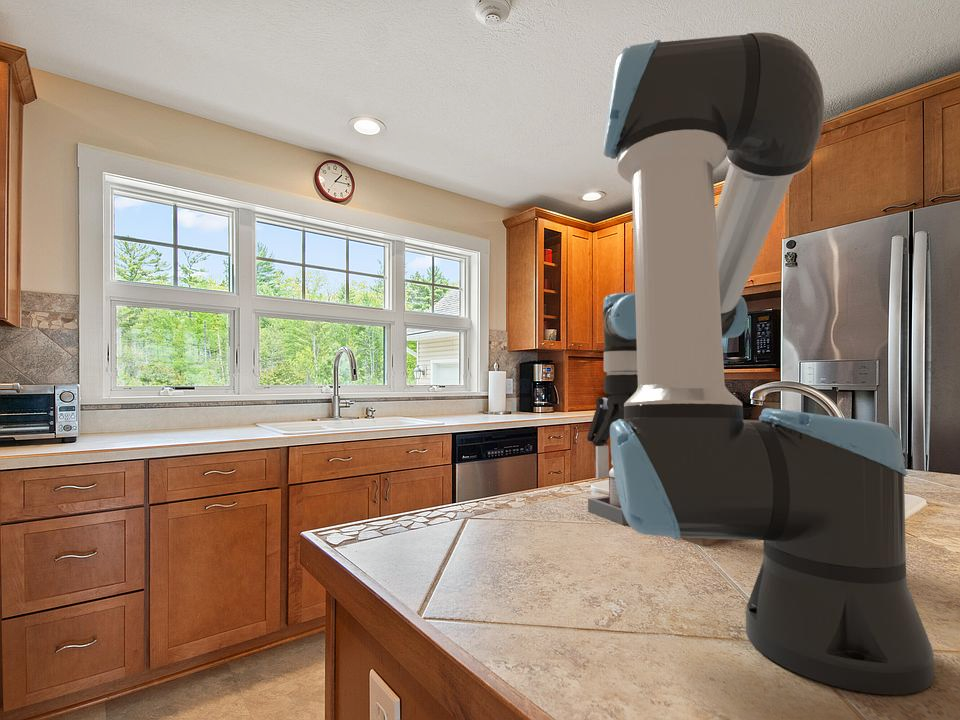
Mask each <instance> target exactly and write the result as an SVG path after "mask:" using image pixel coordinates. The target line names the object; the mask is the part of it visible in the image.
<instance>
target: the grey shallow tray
mask: <svg viewBox="0 0 960 720" xmlns="http://www.w3.org/2000/svg"><path fill="white" fill-rule="evenodd" d="M587 512H589V513H591V514H594V515H597V516H600V517H602V518H605V519H607V520H610V521H612V522H614V523H618V524H620V525H629V524H628V523H627V521H626V519H625V517H624V514H623V511H622V508H619V507H616V506H613V505H611V504H609V495H606V496H599V497H590V498H587Z"/></svg>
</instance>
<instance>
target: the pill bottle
mask: <svg viewBox="0 0 960 720" xmlns="http://www.w3.org/2000/svg"><path fill="white" fill-rule="evenodd" d="M611 466H613V464H612V463H611ZM608 494H609V495H608V496H609V504H611V505H613V506H616V507H619V508H621V504H620V500H619V496H618V492H617V487H616V482H615V476H614V470H613V467H611V469H610V470H609V478H608Z"/></svg>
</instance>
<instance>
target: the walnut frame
mask: <svg viewBox="0 0 960 720" xmlns="http://www.w3.org/2000/svg"><path fill="white" fill-rule="evenodd" d="M680 539H682V540H685V541H688V542H690V543H693V544H696V545H698V546H701V547H703V546H709V545H713V544H718V543H723V542H729V541H735V539H712V538H687V537H680Z"/></svg>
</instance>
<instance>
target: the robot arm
mask: <svg viewBox="0 0 960 720" xmlns="http://www.w3.org/2000/svg"><path fill="white" fill-rule="evenodd" d="M606 116H607V117H606V124H605V133H604V142H603V155H604V156H605V157H606V158H610V159H611V160H615V159H617V172H618V174H619V176H620V177H621V178H622V179H623V180H625V181H626V182H628V183H629V184H631V201H632V205H631V206H632V228H633V229H632V233H633V234H632V235H633V240H632V241H633V265H634V266H633V268H634V270H633V271H634V272H633V273H634V292H617V293H612V294H608V295H606V296H605V297H604V299H603V307H602V308H603V310H602V317H603V318H602V319H603V372H604V373H606V375H604V377H603V392H604V393H605V394H606V395H607V397H597V398H596V404H595V405H596V407H595V411H594V413H593V417H592V421H591V424H590V428H589V431H588V433H587V436H586V437H587V438H586V439H587V441H588V442H591V443H592V445H593V446H594V461H595V479H607V478H608V479H609V471H610V470H609V469H610V463H609V462H610V460H609V443H608V440H609V441H610V455H611V465H612V464H613V465H612V468H613V470H614V476H615V482H616V487H617V492H618V496H619V500H620V504H621V508H622V511H623V514H624V517H625V519H626V521H627V523H628V524H627V525H628V526H629V527H630V528H631V529H632V530H633V531H635V532H636V533H638V534H642V535H647V536H658V537H668V538H669V537H670V538H672V539H674V540H680V539H681V538H680V537H687V538H712V539H734V540H739V541H743V540H744V541H763V559H762V563H761V565H760V569H759V571H758V574H757V577H756V579H755V581H754V584H753V588H752V590H751V594H750V596H749V599H748V602H747V604H746V608H745V609H746V610H745V632H746V635H747V638H748V640H749V641H750V643H751V644H752V645H753V646H754V647H755V648H756V649H757V650H758V651H759V652H760V653H761V654H763V655H764V656H766V657H767V658H769V659H770V660H771V661H773V662H775V663H776V664H778V665H780V666H782V667H783V668H786V669H788V670H790V671H792V672H794V673H796V674H799V675H801V676H803V677H806V678H808V679H812V680H814V681H818V682H820V683H823V684H826V685H830V686H834V687H837V688H841V689H844V690H845V689H846V690H850V691H856V692H859V693H860V692H861V693H867V694H876V695H892V696H893V695H895V696H896V695H909V694H913V693H914V694H915V693H918V692H919V693H920V692H922V691H924V690H925V689H928V688H930V686H931V685H932V684H933V682H934V681H935V664H934V663H935V661H934V660H935V659H934V656H935V655H934V654H935V653H934V650H933V647H932V645H931V642H930V639H929V636H928V635H927V631H926V629H925V627H924V624H923V621H922V619H921V616H920V613H919V611H918V609H917V606H916V604H915V601H914V600H913V597H912V595H911V592H910V589H909V586H908V583H907V580H908V579H907V552H906V551H907V549H906V548H907V547H906V509H905V508H906V505H905V504H906V502H905V499H906V497H905V477H907V474H908V472H907V470H906V467H905V459H904V453H903V446H902V445H903V444H902V439H901V437H900V435H899V433H898V432H897V431H896V430H895V429H894V428H892V427H891V426H889V425H887V424H884V423H881V422H875V421H868V420H861V419H854V418H847V417H842V416H841V417H840V416H833V415H825V414H820V413H819V414H817V413H810V412H805V411H803V412H802V411H795V410H786V409H779V408H778V409H777V408H770V407H766V408H763V409H762V411H761V414H760V415H759V416H758V420H759V422H757V421H756V422H755V421H754V422H751V421H750V422H748V421H744V410H743V409H744V406H743V402H742V401H741V400H740V399H738V398H737V397H736V396H735V395H734V394H733V393H732V392H731V391H729V389H728V388H727V387H726V384H725V367H724V365H725V364H724V351H723V350H724V349H723V339H731V338H734V339H735V338H738V337H739V336H741V335H742V334H744V333H743V332H744V331H745V330H746V327H747V320H748V306H747V302H746V300H745V298H744V297H743V296H742V294H743V291H744V290H745V287H746V286H747V282H748V281H749V278H750V276H751V274H752V271H753V268H754V267H755V265H756V262H757V260H758V258H759V255H760V254H761V252H762V249H763V246H764V244H765V242H766V240H767V238H768V234H769V233H770V230H771V228H772V226H773V223H774V221H775V219H776V217H777V215H778V212H779V210H780V208H781V205H782V203H783V201H784V198H785V196H786V194H787V192H788V189H789V188H790V185H791V183H792V180H793V178H794V176H795V175H797V174H800V173H802V172H803V171H804V170H805V169H806V168H807V167H808V165H809V164H810V162H811V160H812V158H813V156H814V153H815V151H816V149H817V147H818V143H819V140H820V138H821V134H822V130H823V125H824V119H825V118H824V116H825V97H824V90H823V85H822V81H821V79H820V75H819V73H818V71H817V69H816V67H815V64H814V62H813V61H812V59H811V58H810V56H809V55H808V54H807V53H806V52H805V51H804V49H803V48H802V47H800V46H799V45H798V44H797V43H795V42H794V41H793V40H791V39H789V38H787V37H785V36H782V35H779V34H777V33H771V32H770V33H769V32H759V31H757V32H750V33H749V32H748V33H747V34H739V35H738V34H736V35H735V34H733V35H725V36H714V37H712V36H711V37H704V38H692V39H679V40H670V41H661V40H660V39H655V40H654V41H653V42H647V43H640V44H635V45H630V46H627V47H625V48H624V49H623V50H621V52H620V53H619V54H618V56H617V58H616V60H615V64H614V69H613V75H612V81H611V88H610V95H609V102H608V109H607V115H606ZM725 159H726V160H727V162H729V166H728V169H727V173H726V176H725V179H724V184H723V186H722V189H721V191H720V196H719V198H718V202H717V205H716V204H715V203H716V200H715V199H716V198H715V185H714V182H715V181H714V172H715V170H716V169H718V168H719V167H720V166H721V164H722V163H724V161H725ZM609 438H610V439H609Z"/></svg>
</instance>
